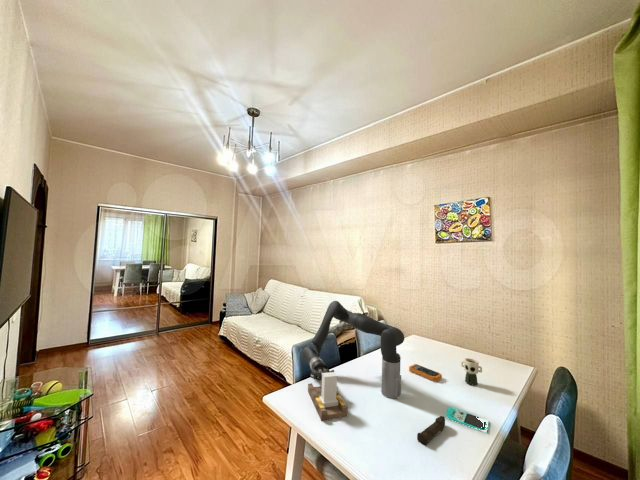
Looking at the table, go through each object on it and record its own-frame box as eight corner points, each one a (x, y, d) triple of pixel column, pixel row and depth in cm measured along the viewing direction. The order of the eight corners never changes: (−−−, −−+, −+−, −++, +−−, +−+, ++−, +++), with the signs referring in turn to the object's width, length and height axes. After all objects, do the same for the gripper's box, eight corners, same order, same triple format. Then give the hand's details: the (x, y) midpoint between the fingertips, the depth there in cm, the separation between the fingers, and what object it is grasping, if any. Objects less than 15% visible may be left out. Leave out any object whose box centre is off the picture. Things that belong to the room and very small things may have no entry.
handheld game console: (449, 408, 125) (449, 406, 125) (489, 423, 115) (489, 419, 115) (445, 419, 117) (445, 415, 117) (487, 435, 107) (487, 431, 107)
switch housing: (307, 391, 134) (308, 383, 134) (329, 389, 138) (330, 381, 138) (321, 420, 111) (321, 410, 111) (347, 416, 115) (347, 407, 115)
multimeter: (436, 383, 149) (436, 377, 149) (408, 371, 163) (408, 366, 163) (443, 379, 154) (443, 373, 154) (415, 368, 168) (415, 363, 168)
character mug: (458, 381, 151) (459, 359, 152) (463, 378, 156) (463, 356, 157) (480, 389, 143) (480, 365, 144) (483, 385, 148) (484, 362, 149)
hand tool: (426, 448, 98) (426, 435, 98) (416, 441, 101) (416, 429, 101) (451, 429, 109) (451, 418, 110) (441, 424, 112) (442, 413, 113)
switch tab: (319, 400, 123) (320, 372, 124) (333, 398, 125) (334, 370, 126) (322, 407, 117) (323, 378, 118) (338, 405, 119) (339, 376, 120)
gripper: (306, 360, 138) (314, 375, 122) (329, 358, 142) (341, 372, 126) (305, 375, 138) (314, 391, 121) (329, 372, 142) (340, 388, 125)
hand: (328, 382), depth 124 cm, fingers closed
